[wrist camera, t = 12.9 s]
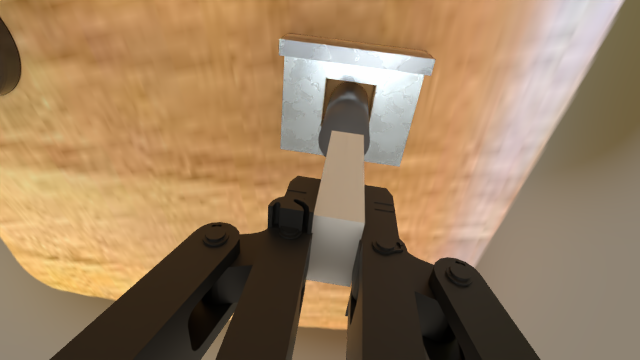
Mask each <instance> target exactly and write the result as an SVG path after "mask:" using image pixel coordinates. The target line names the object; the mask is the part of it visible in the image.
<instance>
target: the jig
mask: <svg viewBox="0 0 640 360" xmlns="http://www.w3.org/2000/svg"><path fill="white" fill-rule="evenodd" d="M279 55H281V56H285V58H284V80H283V102H282V125H281V147H280V149H284V150H291V151H298V152H305V153H311V154H318V155H323V153H322V152H321V150H320V148H319V143H318V138H319V133H320V130H321V127H322V123H323V111H324V102H325V94H326V85H327V78H328V79H335V80H343V81H350V82H357V83H365V84H372V85H375V88H374V93H373V98H372V104H371V109H370V114H369V132H370V145H369V149H368V151H367V153H366V154H365V155H364V161H366V162H372V163H379V164H386V165H393V166H399V167H400V163H401V159H402V156H403V152H404V148H405V145H406V141H407V137H408V133H409V130H410V126H411V122H412V119H413V115H414V111H415V108H416V104H417V100H418V97H419V93H420V89H421V86H422V82H423V78H424V75H430V76H431V73H432V70H433V66H434V63H435V59H434V58H433V57H432V56H431V55H430V54H429V53H428V52H427V51H423V50H415V49H407V48H400V47H392V46H385V45H377V44H369V43H362V42H354V41H346V40H339V39H331V38H324V37H316V36H308V35H301V34H293V33H289V34H287V35H286V36H284V37H282V38H280V39H279Z"/></svg>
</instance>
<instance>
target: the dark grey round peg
mask: <svg viewBox="0 0 640 360" xmlns="http://www.w3.org/2000/svg"><path fill="white" fill-rule="evenodd" d="M332 131H339V132H346V133H353V134H360V135H364V155H365V154H366V153H367V151H368V149H369V145H370V132H369V114H368V98H367V94H366V91H365V90H364V89H363V87H361V86H360V85H359V84H357V83H354V82H344V83H341V84H340V85H338V86H337V87H336V88H335V89H334V90H333V92H332V94H331V97H330V100H329V103H328V107H327V110H326V113H325V117H324V120H323V123H322V127H321V130H320V133H319V138H318V143H319V148H320V150H321V152H322V153H323V155H324V156H325V157H326V155H327V151H328V146H329V142H330V137H331V132H332Z"/></svg>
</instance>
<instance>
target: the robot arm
mask: <svg viewBox="0 0 640 360" xmlns="http://www.w3.org/2000/svg"><path fill="white" fill-rule="evenodd" d="M19 76H20V61H19V56H18V52H17V49H16V46H15V44H14V42H13V39H12V37H11V35H10V34H9V32H8V30H7V28H6V27H5V25H4V24H3V22H2V21H1V19H0V96H1V95H4V94H7V93H9V92H10V91H11V90H13V89H14V87H15V86H16V84H17V82H18V80H19ZM306 280H312V281H318V282H324V283H330V284H336V285H342V286H348V287H350V285H351V281H352V288H351V293H350V298H349V302H348V306H347V310H346V315H345V316H348V329H347V351H346V360H540V358H539V357H538V356H537V354H536V353H535V351H534V350H533V348H532V347H531V346H530V344H529V343H528V341H527V340H526V338H525V337H524V336H523V334H522V333H521V331H520V330H519V329H518V327H517V326H516V324H515V323H514V322H513V320H512V319H511V317H510V316H509V314H508V313H507V312H506V310H505V309H504V307H503V306H502V305H501V303H500V302H499V300H498V299H497V297H496V296H495V294H494V293H493V292H492V290H491V289H490V287H489V286H488V285H487V283H486V282H485V280H484V279H483V277H482V276H481V275H480V274H479V273H478V271H477V270H476V269H475V268H474V267H472V266H471V265H469V264H468V263H466V262H464V261H461V260H459V259H456V258H448V257H447V258H442V259H439V260H438V261H437V262H435V265H433V264H430V263H428V262H425V261H423V260H420V259H418V258H416V257H414V256H413V255H411V254H410V253H408V252H407V248H406V246H405V244H404V243H403V242H402V241H401V240H400V239H399V235H398V228H397V221H396V215H395V208H394V202H393V196H392V195H391V194H390V192H389V191H388V190H387V189H386V188H381V187H374V186H367V185H364V135H360V134H353V133H346V132H339V131H332V132H331V137H330V142H329V146H328V151H327V155H326V160H325V165H324V169H323V174H322V178H321V179H315V178H308V177H302V176H297V177H296V178H295V179H293V180H292V181H291V182H290V184H289V186H288V189H287V192H286V194H285V196H284V197H279V198H277V199H275V200H273V201H272V202H271V203H270V204H269V205H268V228H267V229H266V230H265V231H262V232H259V233H253V234H240V235H239V231H238V230H237V228H236V227H234V226H232V225H231V224H228V223H222V222H217V223H210V224H207V225H204V226H202V227H200V228H199V229H197V230H196V231H195V232H193V233H192V234H191V235H190V236H189V237H188V238H187V239H186V240H184V241H183V242H182V243H181V244H180V245H179V246H178V247H177V248H175V249H174V250H173V251H172V252H171V253H170V254H169V255H167V256H166V257H165V258H164V259H163V260H162V261H161V262H160V263H158V264H157V265H156V266H155V267H154V268H153V269H152V270H151V271H149V272H148V273H147V274H146V275H145V276H144V277H143V278H141V279H140V280H139V281H138V282H137V283H136V284H135V285H134V286H132V287H131V288H130V289H129V290H128V291H127V292H126V293H124V294H123V295H122V296H121V297H120V298H119V299H118V300H117V301H115V302H114V303H113V304H112V305H111V306H110V307H109V308H108V309H106V310H105V311H104V312H103V313H102V314H101V315H100V316H98V317H97V318H96V319H95V320H94V321H93V322H92V323H91V324H89V325H88V326H87V327H86V328H85V329H84V330H83V331H82V332H81V333H79V334H78V335H77V336H76V337H75V338H74V339H72V341H70V342H69V343H68V344H67V345H66V346H65V347H63V348H62V349H61V350H60V351H59V352H58V353H57V354H55V355H54V356H53V357H52V358H51V359H50V360H201V358H202V357H203V356H204V354H205V353H206V351H207V350H208V349H209V347H210V346H211V344H212V343H213V341H214V340H215V339H216V337H217V336H218V334H219V333H220V332H221V330H222V329H223V327H224V326H225V324H226V323H227V322H228V320H229V319H230V317H231V316H232V315H233V317H232V319H231V322H230V324H229V327H228V330H227V332H226V335H225V337H224V339H223V342H222V345H221V347H220V349H219V352H218V354H217V357H216V360H292V355H293V350H294V344H295V339H296V334H297V329H298V323H299V318H300V313H301V307H302V302H303V297H304V290H305V282H306ZM233 313H234V314H233Z"/></svg>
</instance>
